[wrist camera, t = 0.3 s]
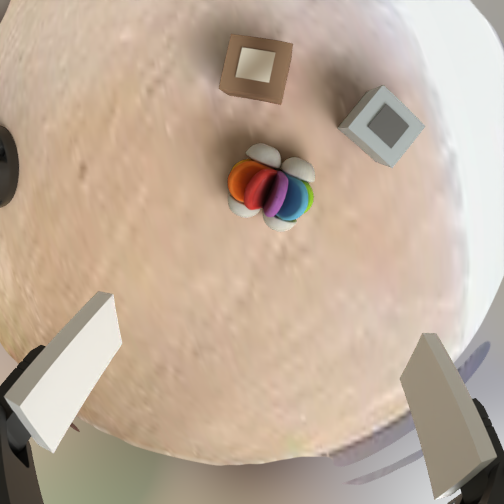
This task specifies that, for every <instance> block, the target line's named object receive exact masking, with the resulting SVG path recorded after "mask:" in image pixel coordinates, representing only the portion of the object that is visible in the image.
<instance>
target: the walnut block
mask: <svg viewBox="0 0 504 504" xmlns="http://www.w3.org/2000/svg"><path fill="white" fill-rule="evenodd" d="M292 47H293V44H292V43H287V42H282V41H276V40H270V39H264V38H258V37H251V36H243V35H234V34H231V37H230V41H229V45H228V49H227V54H226V58H225V62H224V67H223V71H222V76H221V80H220V85H219V89H220V90H222V91H223V92H225V93H226V94H228V95H229V96H236V97H242V98H248V99H254V100H259V101H265V102H270V103H275V104H280V105H281V103H282V99H283V94H284V90H285V85H286V80H287V76H288V71H289V67H290V62H291V57H292Z"/></svg>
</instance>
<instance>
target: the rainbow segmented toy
mask: <svg viewBox="0 0 504 504" xmlns="http://www.w3.org/2000/svg"><path fill="white" fill-rule="evenodd" d="M246 155H247V156H249V157H250V158H252V159H245V160H242V161H240V162H238V163H237V164H235V165H234V167H233V168H232V170H231V172H230V174H229V176H228V188H229V191H230V193H229V195H228V205H229V207H230V209H231V211H232V212H233V213H235V214H236V215H238V216H240V217H245V218H247V217H252V216H254V215H256V214H257V213H258V212H259V211H260V210H261V208H263V219H264V221H265V223H266V224H267V226H268V227H270V228H271V229H273V230H275V231H280V232H282V231H287V230H289V229H291V228H292V227H293V226H294V225H295V224H296V222H297V220H296V219H297V218H298V217H300V216H301V215H302V214H303V213H305V212H306V211H308V210H309V209H310V207H311V205H312V203H313V191H312V188H311V187H310V185H309V183H308V182H314V180H315V171H314V168H313V166H312V165H311V164H310V163H309V162H307V161H305V160H303V159H300V158H298V157H291V158H289V159H287V160H285V161H284V162H283V163H281V156H280V154H279V152H278V150H277V149H275V148H273V147H271V146H269V145H266V144H263V143H258V144H255V145H253V146H251V147H250V148H249V149H248V150H247V152H246ZM276 168H280V169H282V172H281V171H276V170H275V169H276ZM307 181H308V182H307Z"/></svg>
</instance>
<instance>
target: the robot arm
mask: <svg viewBox="0 0 504 504" xmlns="http://www.w3.org/2000/svg"><path fill="white" fill-rule="evenodd" d="M18 175H19V163H18V154H17V149H16V145H15V142H14V140H13V138H12V136H11V134H10V133H9V131H8V130H7V129H6V128H4V127H2V126H0V208H1V207H3V206H5V205H7V204H8V203H9V202H10V201H11V200H12V198H13V196H14V194H15V191H16V187H17V183H18ZM121 345H122V340H121V335H120V330H119V325H118V320H117V314H116V308H115V302H114V296H113V294H110V293H105V292H101V291H98V292H97V293H96V294H95V295H94V296H93V297H92V298H91V299H90V300H89V301H88V302H87V303H86V304H85V305H84V306H83V307H82V308H81V310H80V311H79V312H78V313H77V314H76V315H75V316H74V317H73V318H72V319H71V320H70V321H69V322H68V323H67V324H66V325H65V326H64V327H63V328H62V330H61V331H60V332H59V333H58V334H57V335H56V336H55V337H54V338H53V339H52V340H51V342H50V343H49V344H48V345H47V346H46V347H45V346H43V345H40V346H38V347H37V348H35V349H33V350H31V351H30V352H29V353H28V354H27V356H26V357H25V358H24V359H23V361H21V362H20V363H19V365H18V366H17V368H15V369H14V370H13V372H12V373H11V374H10V375H9V376H8V377H7V378H6V380H5V381H4V382H3V383H2V384H1V386H0V504H44V503H43V499H42V496H41V492H40V488H39V484H38V480H37V475H36V471H35V466H34V462H33V457H32V451H31V446H30V443H29V441H28V440H29V439H30V437H31V436H32V438H33V439H34V440H35V441H36V443H37V444H38V445H40V446H42V447H43V448H45V449H47V450H49V451H51V452H52V453H54V451H55V450H56V448H57V446H58V445H59V443H60V441H61V439H62V438H63V436H64V434H65V433H66V431H67V429H68V428H69V426H70V424H71V423H72V421H73V419H74V418H75V416H76V414H77V413H78V411H79V410H80V408H81V406H82V405H83V403H84V402H85V400H86V398H87V397H88V395H89V394H90V392H91V390H92V389H93V387H94V386H95V384H96V383H97V381H98V380H99V378H100V376H101V375H102V373H103V372H104V370H105V369H106V367H107V366H108V364H109V363H110V361H111V360H112V358H113V357H114V355H115V354H116V352H117V351H118V349H119V348H120V346H121ZM400 381H401V384H402V387H403V390H404V393H405V396H406V399H407V402H408V405H409V408H410V411H411V414H412V417H413V420H414V423H415V427H416V430H417V433H418V437H419V440H420V444H421V447H422V451H423V455H424V458H425V462H426V466H427V470H428V474H429V478H430V482H431V486H432V491H433V495H434V500H436V499H440V498H443V497H446V496H450V495H452V494H453V493H455V492H456V491H457V490H458V489H461V492H462V493H461V494H460V495H458V496H457V497H456V498H454V499H453V500H451V501H450V502H449V503H448V504H453V503H454V504H504V450H503V448H502V446H501V443H500V441H499V439H498V436H497V434H496V432H495V430H494V427H492V423H491V421H490V419H488V417H489V416H488V414H487V412H486V410H485V408H484V406H482V404H481V403H480V402H479V401H478V400H477V399H476V398H474V399H472V398H471V396H470V394H469V392H468V390H467V388H466V387H465V384H464V382H463V380H462V379H461V377H460V375H459V373H458V371H457V369H456V367H455V366H454V364H453V362H452V360H451V358H450V356H449V355H448V353H447V351H446V349H445V348H444V346H443V344H442V342H441V341H440V339H439V337H438V336H437V334H435V333H422V335H421V337H420V340H419V342H418V344H417V346H416V348H415V350H414V352H413V354H412V356H411V358H410V360H409V362H408V364H407V366H406V368H405V370H404V371H403V373H402V375H401V377H400Z"/></svg>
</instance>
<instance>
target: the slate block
mask: <svg viewBox="0 0 504 504" xmlns="http://www.w3.org/2000/svg"><path fill="white" fill-rule="evenodd" d="M424 127H425V126H424V124H423V123H422V122H421V121H420V120H419V119H418V118H417V117H416V116H415V115H414V114H413V113H412V112H411V111H410V110H409V109H408V108H407V107H406V106H405V105H404V104H403V103H402V102H401V101H400V100H399V99H398V98H397V97H396V96H394V95H393V94H392V93H391V92H390V91H389V90H388V89H387V88H386V87H385V86H384V85H382V86H379V87H377V88H375V89H372V90H370V91H368V92H367V93H366V94H365V95H364V96H363V98H362V99H361V100H360V101H359V102H358V104H357V105H356V106H355V107H354V108H353V110H352V111H351V112H350V113H349V115H348V116H347V117H346V118H345V119H344V121H343V122H342V123H341V124H340V126H339V127H338V129H339V130H340V131H341V132H342V133H344V134H345V135H346V136H347V137H348V138H349V139H351V140H352V141H353V142H354V143H355V144H356V145H358V146H359V147H360V148H361V149H362V150H363V151H364V152H365V153H366V154H368V155H369V156H370V157H371V158H372V159H373V160H374V161H375V162H378V163H380V164H383V165H386V166H388V167H391V168H393V167H394V165H395V164H396V163H397V162H398V160H399V159H400V158H401V157H402V155H403V154H404V153H405V152H406V150H407V149H408V148H409V147H410V145H411V144H412V143H413V142H414V140H415V139H416V138H417V136H418V135H419V134H420V133H421V131H422V130H423V129H424Z"/></svg>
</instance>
